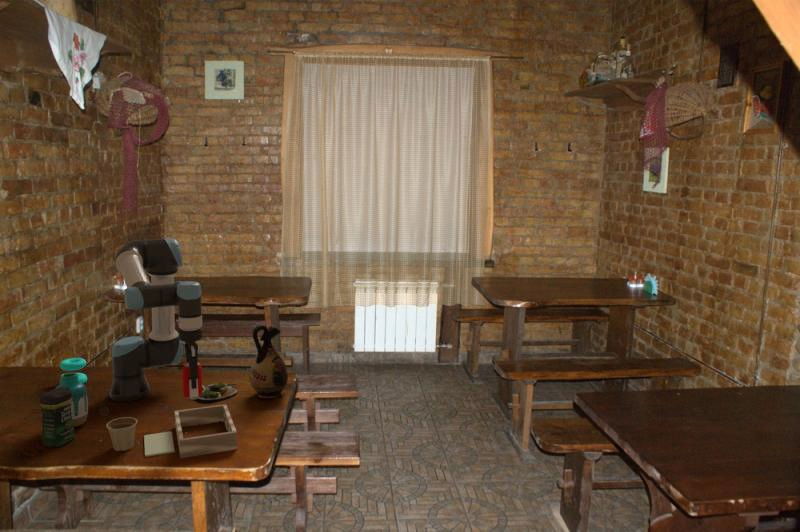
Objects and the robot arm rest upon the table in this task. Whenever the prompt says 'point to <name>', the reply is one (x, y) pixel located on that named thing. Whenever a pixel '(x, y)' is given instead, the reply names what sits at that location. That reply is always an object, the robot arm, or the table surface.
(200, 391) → the beverage can
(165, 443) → the mat
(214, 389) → the salad plate
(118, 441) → the flower pot
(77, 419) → the vase
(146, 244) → the robot arm
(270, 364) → the ceramic jug
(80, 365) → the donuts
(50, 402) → the coffee jar
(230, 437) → the frame
